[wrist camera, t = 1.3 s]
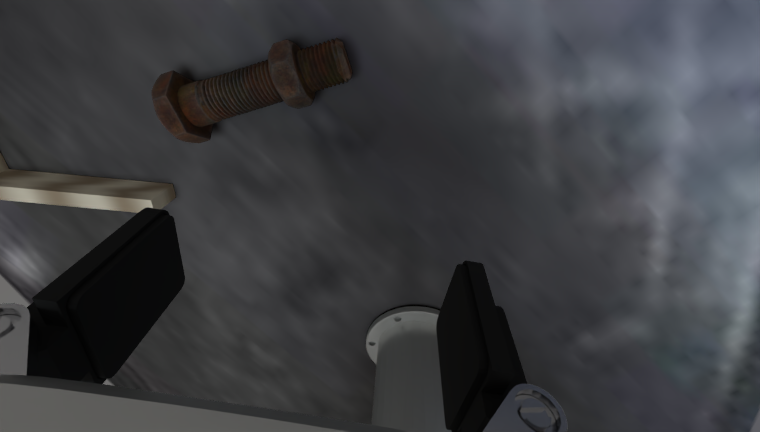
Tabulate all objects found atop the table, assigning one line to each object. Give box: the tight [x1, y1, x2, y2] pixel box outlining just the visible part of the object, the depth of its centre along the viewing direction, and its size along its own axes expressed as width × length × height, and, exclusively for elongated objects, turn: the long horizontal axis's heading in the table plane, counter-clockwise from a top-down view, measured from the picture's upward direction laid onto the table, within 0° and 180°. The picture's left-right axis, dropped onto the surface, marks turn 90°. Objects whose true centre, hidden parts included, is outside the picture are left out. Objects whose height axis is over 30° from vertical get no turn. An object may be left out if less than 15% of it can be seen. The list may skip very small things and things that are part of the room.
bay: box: [0, 152, 176, 213], centre depth 29 cm, size 18×24×4 cm
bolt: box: [152, 38, 353, 143], centre depth 28 cm, size 6×5×15 cm
